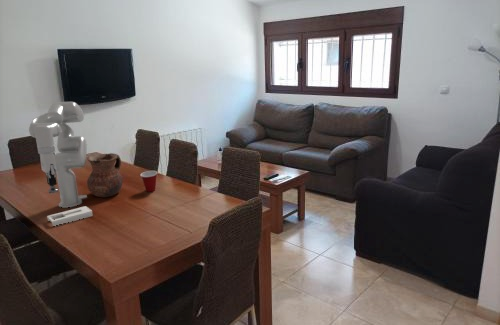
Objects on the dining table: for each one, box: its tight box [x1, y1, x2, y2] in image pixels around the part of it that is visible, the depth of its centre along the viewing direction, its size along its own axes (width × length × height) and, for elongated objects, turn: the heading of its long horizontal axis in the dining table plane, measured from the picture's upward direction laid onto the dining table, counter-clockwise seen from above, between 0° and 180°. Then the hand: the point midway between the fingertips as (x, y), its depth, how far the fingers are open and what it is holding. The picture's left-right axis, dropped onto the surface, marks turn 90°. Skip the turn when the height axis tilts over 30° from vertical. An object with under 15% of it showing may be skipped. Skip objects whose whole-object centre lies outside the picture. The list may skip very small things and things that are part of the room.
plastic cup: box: [140, 170, 158, 193], centre depth 241 cm, size 11×11×12 cm
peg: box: [46, 171, 59, 194], centre depth 190 cm, size 4×4×12 cm
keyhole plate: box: [46, 205, 94, 227], centre depth 200 cm, size 20×10×3 cm, turn 132°
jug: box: [86, 152, 124, 198], centre depth 235 cm, size 22×21×25 cm
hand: (52, 184), depth 191 cm, fingers closed on peg, 3 cm apart
